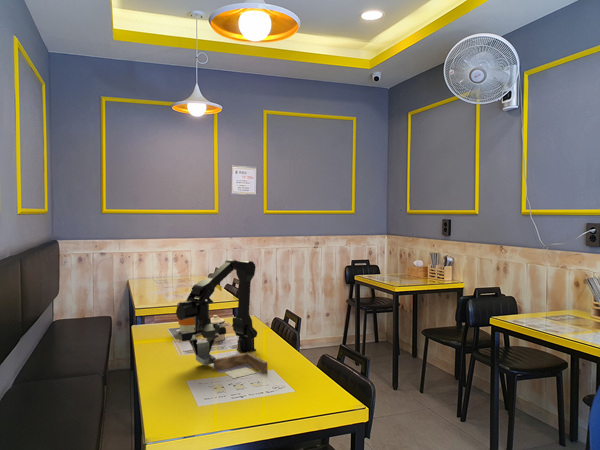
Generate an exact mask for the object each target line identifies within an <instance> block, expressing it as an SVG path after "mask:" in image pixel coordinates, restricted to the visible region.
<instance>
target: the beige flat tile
mask: <svg viewBox="0 0 600 450" xmlns="http://www.w3.org/2000/svg"><path fill="white" fill-rule="evenodd" d="M223 374H226V375H227V376H229V377H230V378H232V379H233V378H234V379H238V378H241V377H247V376H251V375H254V374H257V371H256V372H255V370H252V369H250V368H249V367H247V366H245V367H242V368H237V369H233V370H229V371H225V372H223ZM237 377H238V378H237Z"/></svg>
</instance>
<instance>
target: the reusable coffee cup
mask: <svg viewBox="0 0 600 450" xmlns="http://www.w3.org/2000/svg"><path fill="white" fill-rule="evenodd" d="M184 302H187V301H184ZM179 303H180V302H178V303H177V304H176V308H177V307H178V306H179ZM177 321H178V325H179V328H180V331H185V330H188V331H190V332H194V331H195V330H194V327H195V320H194V318H189V319H185V320H179V319H178V318H177Z"/></svg>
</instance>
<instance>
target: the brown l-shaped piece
mask: <svg viewBox="0 0 600 450" xmlns="http://www.w3.org/2000/svg"><path fill="white" fill-rule="evenodd" d="M244 365H248V366H250V367H251V368H253V369H255V370H257V371H258V372H260V373H262V374H264V375H265V374H268V372H269V371H268V361H265V360H264V359H262V358H260V357H257V356H256V355H254V354H252V353H250V352H246V353H238V354H234V355H230V356H225V357H219V358H216V359H214V363H213V370H214V371H215V372H217V371H222V370H226V369H230V368H235V367H240V366H244Z"/></svg>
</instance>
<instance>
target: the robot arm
mask: <svg viewBox="0 0 600 450" xmlns="http://www.w3.org/2000/svg"><path fill="white" fill-rule="evenodd" d="M234 270H235V273H236V276H237V278H238V302H237V303H238V304H237V314H236V316H234V317H232V323H231V324H232V325H231V327H232V330H233V331H234V334H235V336H236V337H237V338H238V340H237V348H236V350H237V351H239V352H241V354H243V353H250V352H255V351H257V348H255V338H257V335H258V331H257V330H256V329H255V328H254V327H253V319H252V317H251V314H250V305H251V304H250V303H251V301H250V300H251V299H250V298H251V284H252V283H251V282H252V280H253V278H254V277H255V273H256V264H255V263H254V261H250V260H244V259H243V260H235V259H226V260H225V261H224V263H223V264H221V265H220V267H219V268H217V269H216V270H215V271H214V272H213V273H211V274H210V275H209V276H208V277H207V278H204V279H203V280H200V281H198V282H197V283H195V284H194V285H193V286H192V287H191V290H190V292H189V295H188V296H187V298H186V301H187V302H185V301H180V302H178V303H179V306H178V307H177V306H176V310H175V314H176V317H177V320H178V319H179V320H185V319H189V318H194V320H195V327H194V330H195V331H194V332H190V331H188V330H185V331H181V330H180V331H178V333H177V340H180V341H181V342H187V341H188V342H189V343H190V345H191V348H192V351H193V352H194V355H195V356H196V355H197V342H198V339H197V338H196V337H198V336H199V337H200V336H202V338H204V339H206V341H209V354H211V350H212V348H213V344H214V343H215V342H214V340H215V339H216V338H217V337H219V335H222V334H225V335H226V334H227V329H226V326H225V325H224V326H225V327H224V326H222V325H219V324H218V323H215V324H211V320H210V318H211V317H210V304H213V303H214V300H212V299H211V296H212V295H213V294H214V292H215V291H216V290H215V289H216V288H217V286H218V285H220V283H221V282H223V280H224V279H226V278H227V277H228V276H229V275H230V274H231V273H232V272H233V271H234ZM217 333H218V334H219V335H217Z"/></svg>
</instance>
